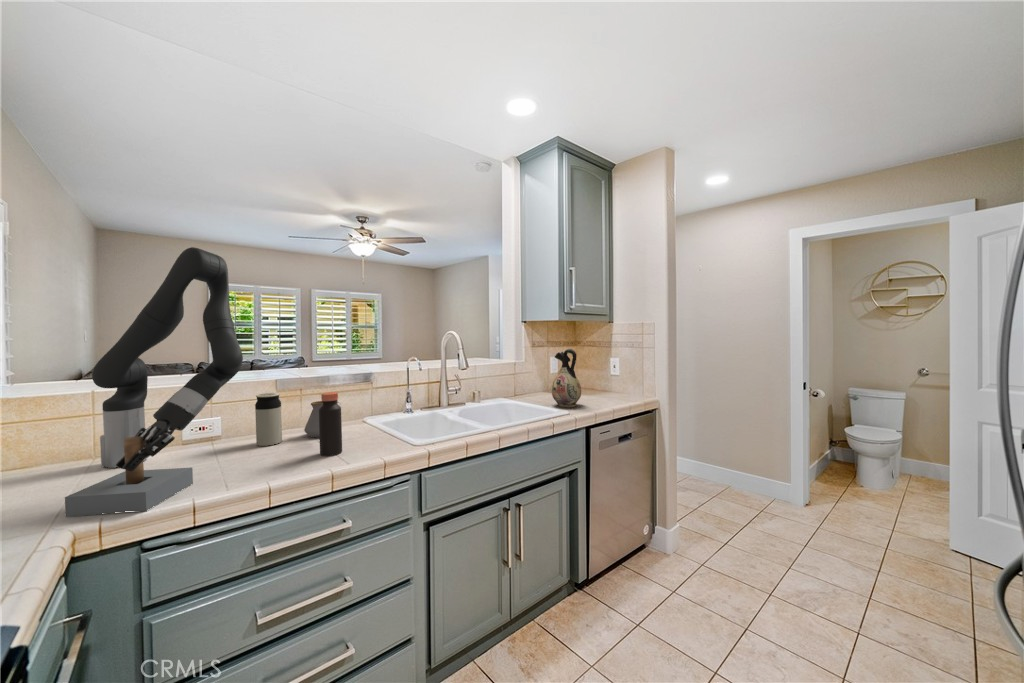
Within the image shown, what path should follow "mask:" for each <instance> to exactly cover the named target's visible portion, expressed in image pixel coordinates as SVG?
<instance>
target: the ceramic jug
mask: <svg viewBox="0 0 1024 683" xmlns="http://www.w3.org/2000/svg"><path fill="white" fill-rule="evenodd" d="M568 354H571V355H572V360H571V358H570V356H568ZM554 358H555V359H557V360H559V361H561V367H560V369H559V371H558V372H557V373H556V375H555V377H554V380H553V381H552V384H551V395H552V398H553V400H554V401H555V402H556V403H557V406H558V407H559V408H560V407H561V408H573V407H574V408H575V407H576V406H577V403H578V401H579V400H580V398H581V397H582V387H581V383H580V381H579V379H578V377H577V374H576V372H575V370H574V369H575V367H576V362H577V352H576V351H575V350H574V349H572V348H568V349H565V350H564V351H561V352H557V353H556V354H555V355H554ZM570 362H571V365H569V363H570Z"/></svg>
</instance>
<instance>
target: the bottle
mask: <svg viewBox="0 0 1024 683" xmlns="http://www.w3.org/2000/svg"><path fill="white" fill-rule="evenodd" d="M338 397H339V393H338V392H336V391H335V392H333V391H332V392H324V393H323V392H322V393H321V401H322V402H323V405H322V406H321V407H320V409H319V437H318V439H319V455H321V456H323V457H331V456H337V455H339V453H340V454H341V453H342V452H343V432H342V427H343V426H342V425H343V424H342V406H341V405H340V404H339V403H337V401H338V400H339V398H338ZM338 402H339V401H338Z"/></svg>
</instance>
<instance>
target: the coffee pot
mask: <svg viewBox="0 0 1024 683" xmlns="http://www.w3.org/2000/svg"><path fill="white" fill-rule="evenodd" d="M337 404H340V402H339V401H337ZM322 405H323V402H322V400H319V401H318V400H317V401H313V402H312V401H311V403H310V406H312V410H311V412H310V414H309V416H308V420H307V422H306V424H305V427H304V429H303V430H304V433H305V434H307V435H308V436H309V437H310V436H311V438H314V437H317V438H319V409H320V407H321V406H322Z"/></svg>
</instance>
